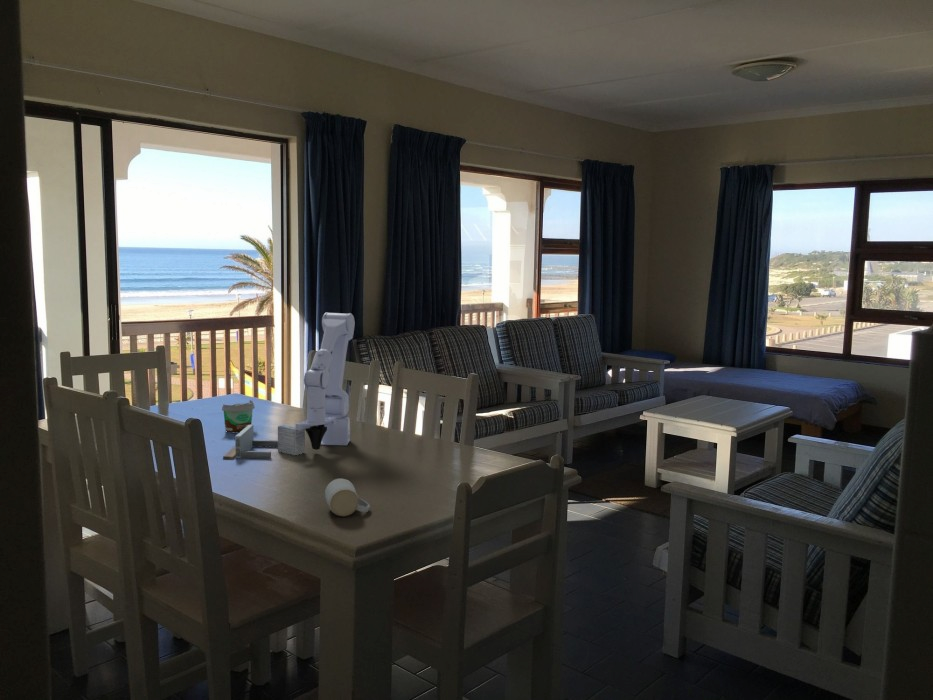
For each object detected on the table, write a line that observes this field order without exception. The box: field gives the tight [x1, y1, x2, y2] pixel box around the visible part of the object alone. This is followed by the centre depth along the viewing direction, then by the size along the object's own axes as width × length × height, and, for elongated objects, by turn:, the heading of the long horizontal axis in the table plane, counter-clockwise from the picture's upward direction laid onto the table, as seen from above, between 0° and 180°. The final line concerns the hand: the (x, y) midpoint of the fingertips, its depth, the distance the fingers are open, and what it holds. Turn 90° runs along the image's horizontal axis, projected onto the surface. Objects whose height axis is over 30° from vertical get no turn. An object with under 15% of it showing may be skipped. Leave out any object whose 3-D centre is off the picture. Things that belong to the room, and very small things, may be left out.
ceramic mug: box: [324, 478, 371, 517], centre depth 186 cm, size 11×8×8 cm
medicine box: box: [277, 423, 306, 456], centre depth 240 cm, size 8×4×9 cm, turn 58°
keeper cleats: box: [240, 439, 278, 459], centre depth 240 cm, size 9×15×2 cm, turn 2°
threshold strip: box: [222, 445, 236, 460], centre depth 239 cm, size 3×18×1 cm, turn 2°
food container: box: [221, 399, 255, 433], centre depth 266 cm, size 12×6×10 cm, turn 143°
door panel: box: [234, 424, 255, 459], centre depth 239 cm, size 2×17×7 cm, turn 2°
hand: (316, 448), depth 240 cm, fingers closed
